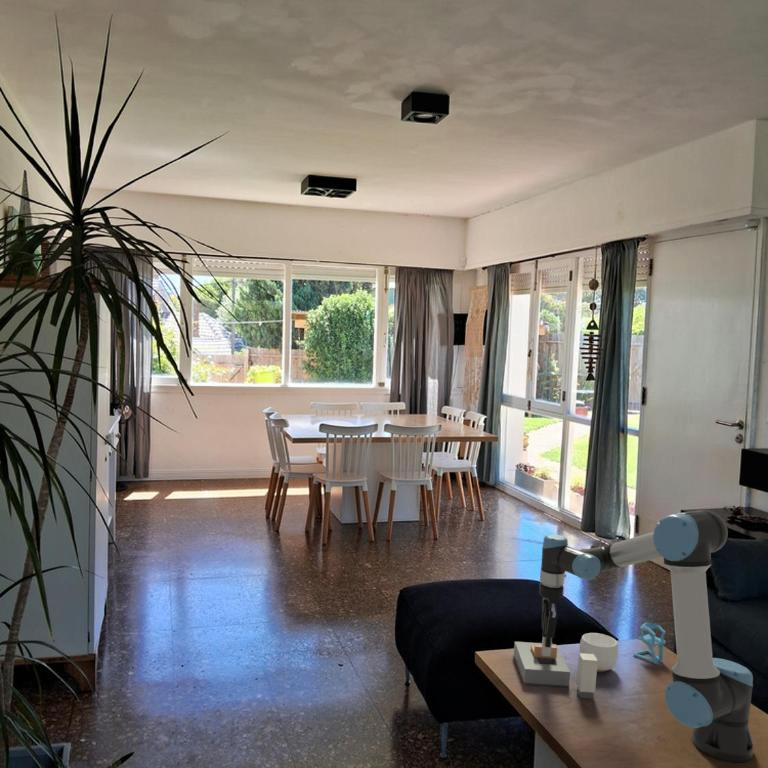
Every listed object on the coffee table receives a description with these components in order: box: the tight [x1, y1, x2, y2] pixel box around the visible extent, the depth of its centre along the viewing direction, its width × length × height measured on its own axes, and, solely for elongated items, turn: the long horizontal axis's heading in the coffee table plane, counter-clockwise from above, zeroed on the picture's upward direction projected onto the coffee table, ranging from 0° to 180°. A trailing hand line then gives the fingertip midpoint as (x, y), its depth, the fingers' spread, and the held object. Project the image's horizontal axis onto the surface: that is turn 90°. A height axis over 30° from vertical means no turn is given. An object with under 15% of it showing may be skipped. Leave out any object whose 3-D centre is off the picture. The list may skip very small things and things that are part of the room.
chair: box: [633, 622, 667, 665], centre depth 250 cm, size 8×8×12 cm
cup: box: [579, 632, 619, 673], centre depth 240 cm, size 12×12×10 cm
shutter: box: [531, 645, 558, 659], centre depth 237 cm, size 7×7×4 cm
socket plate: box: [513, 641, 571, 688], centre depth 236 cm, size 20×14×5 cm
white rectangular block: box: [575, 652, 598, 699], centre depth 221 cm, size 4×4×12 cm
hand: (545, 655), depth 233 cm, fingers closed
